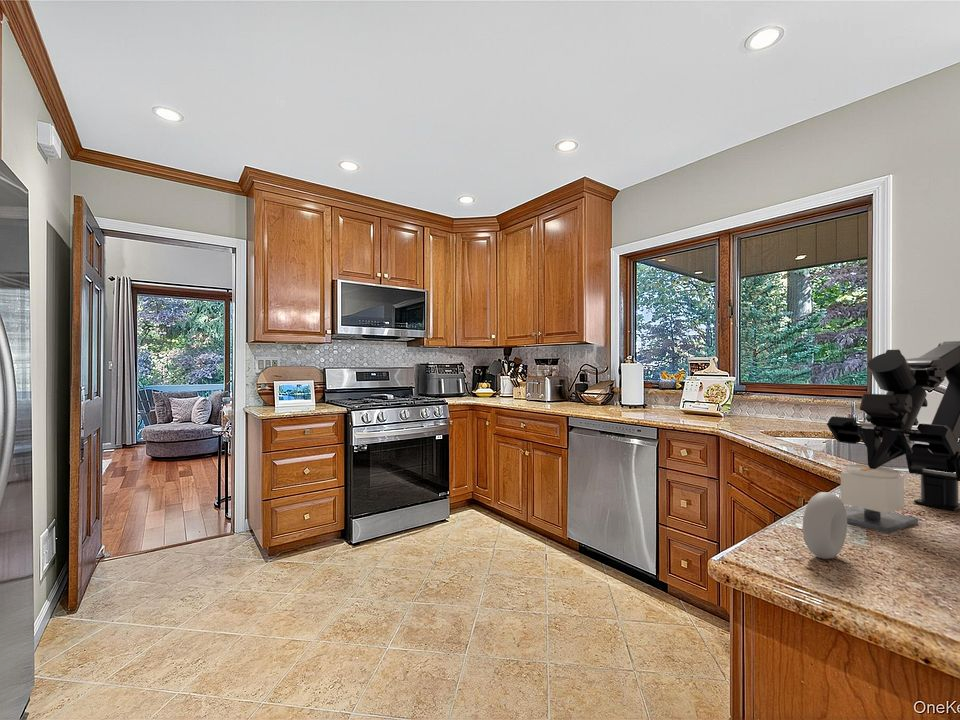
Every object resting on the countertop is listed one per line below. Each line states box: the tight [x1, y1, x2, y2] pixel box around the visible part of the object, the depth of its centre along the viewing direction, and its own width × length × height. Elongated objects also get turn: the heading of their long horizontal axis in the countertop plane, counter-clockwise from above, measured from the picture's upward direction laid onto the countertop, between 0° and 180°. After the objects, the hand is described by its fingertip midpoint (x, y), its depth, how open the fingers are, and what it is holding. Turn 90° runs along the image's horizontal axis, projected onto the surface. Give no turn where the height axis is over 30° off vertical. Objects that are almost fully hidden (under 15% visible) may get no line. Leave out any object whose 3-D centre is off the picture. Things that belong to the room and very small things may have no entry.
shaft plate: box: [845, 505, 919, 534], centre depth 87 cm, size 12×10×7 cm
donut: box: [802, 491, 848, 560], centre depth 70 cm, size 10×3×10 cm, turn 124°
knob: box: [840, 464, 905, 513], centre depth 87 cm, size 8×8×7 cm
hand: (871, 467), depth 87 cm, fingers closed, pressing on knob
